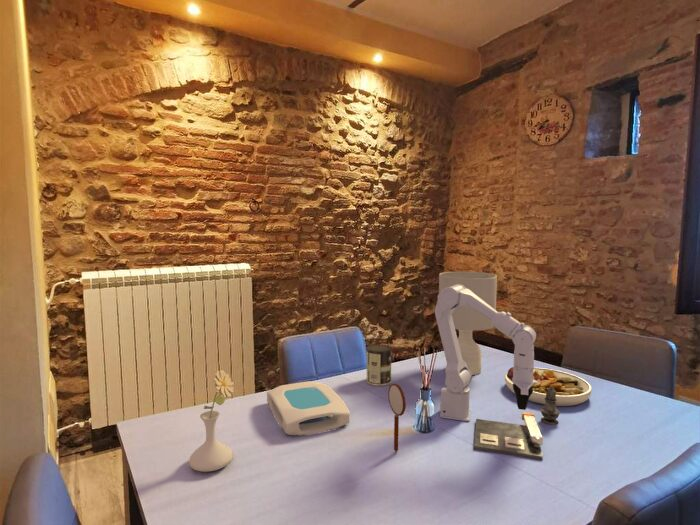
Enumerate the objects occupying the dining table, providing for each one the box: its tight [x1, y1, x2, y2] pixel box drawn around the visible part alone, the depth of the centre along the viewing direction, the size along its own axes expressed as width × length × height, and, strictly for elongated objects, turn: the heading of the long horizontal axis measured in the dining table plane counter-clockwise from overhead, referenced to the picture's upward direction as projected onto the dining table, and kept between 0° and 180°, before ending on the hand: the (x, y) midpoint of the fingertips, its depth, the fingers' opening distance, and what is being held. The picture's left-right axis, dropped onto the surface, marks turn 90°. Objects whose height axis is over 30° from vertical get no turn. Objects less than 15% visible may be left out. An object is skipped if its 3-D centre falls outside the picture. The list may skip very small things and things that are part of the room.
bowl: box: [504, 366, 592, 407], centre depth 165 cm, size 30×30×8 cm
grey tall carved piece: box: [539, 386, 561, 426], centre depth 140 cm, size 6×6×12 cm
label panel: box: [473, 418, 544, 461], centre depth 129 cm, size 18×18×2 cm
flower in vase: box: [188, 369, 234, 473], centre depth 115 cm, size 13×11×25 cm
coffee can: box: [365, 344, 392, 387], centre depth 175 cm, size 10×10×14 cm
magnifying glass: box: [387, 383, 407, 454], centre depth 120 cm, size 9×2×20 cm, turn 23°
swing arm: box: [521, 411, 544, 446], centre depth 130 cm, size 18×4×2 cm, turn 166°
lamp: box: [438, 271, 498, 376], centre depth 188 cm, size 24×24×42 cm
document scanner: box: [266, 380, 351, 437], centre depth 145 cm, size 21×28×6 cm
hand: (521, 408), depth 133 cm, fingers closed
